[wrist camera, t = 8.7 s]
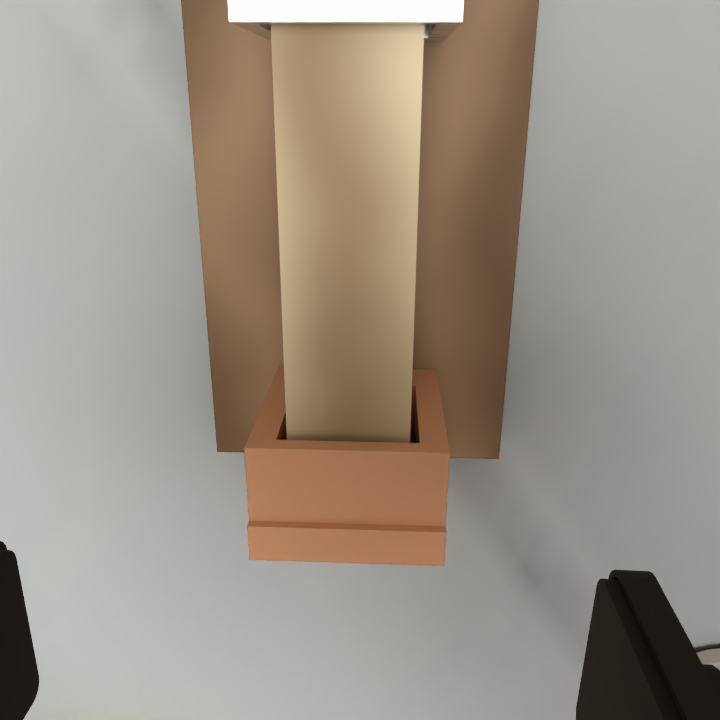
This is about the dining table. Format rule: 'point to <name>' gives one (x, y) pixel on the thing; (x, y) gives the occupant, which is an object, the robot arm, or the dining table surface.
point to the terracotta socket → (349, 489)
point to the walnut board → (435, 212)
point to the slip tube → (348, 225)
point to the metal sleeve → (348, 14)
